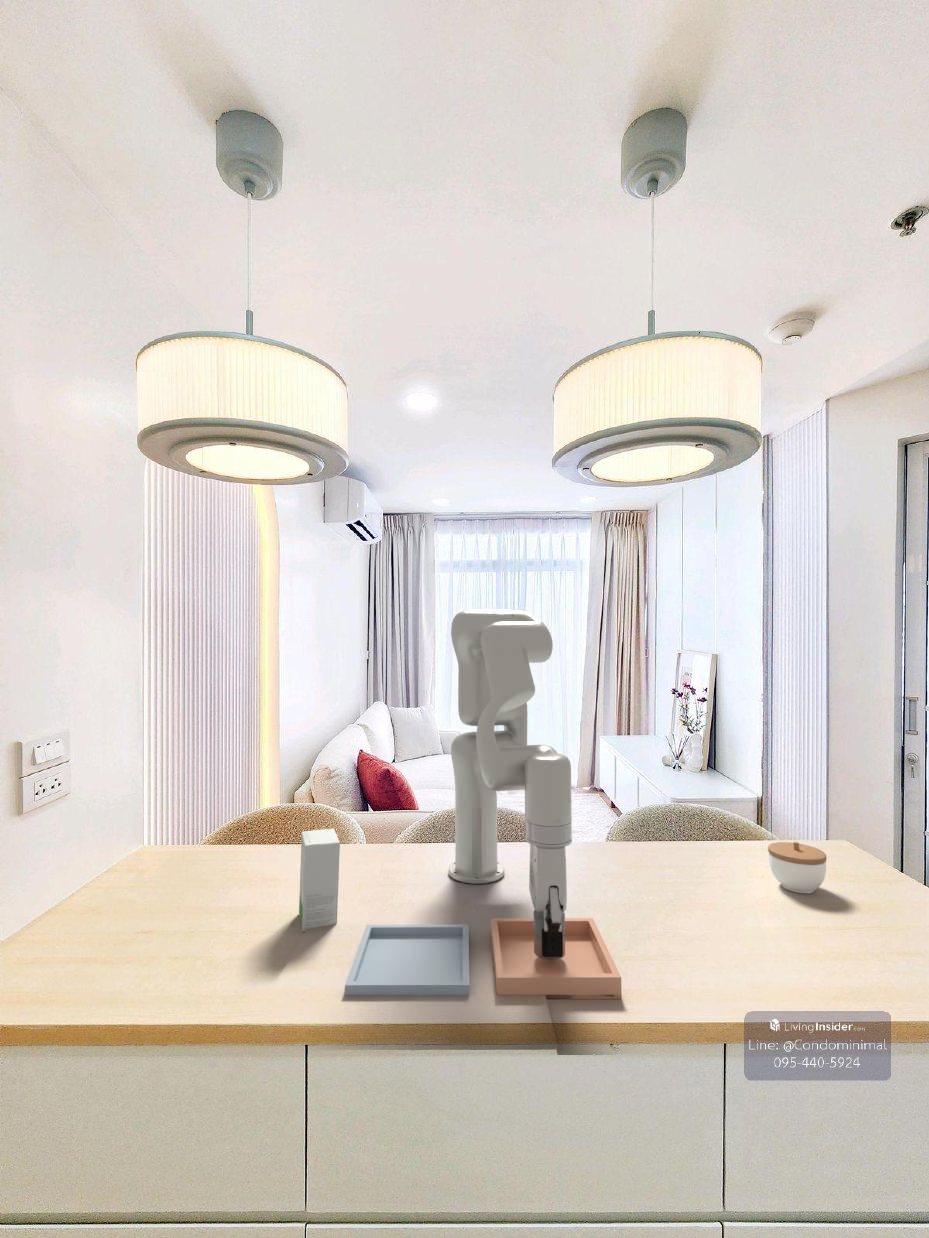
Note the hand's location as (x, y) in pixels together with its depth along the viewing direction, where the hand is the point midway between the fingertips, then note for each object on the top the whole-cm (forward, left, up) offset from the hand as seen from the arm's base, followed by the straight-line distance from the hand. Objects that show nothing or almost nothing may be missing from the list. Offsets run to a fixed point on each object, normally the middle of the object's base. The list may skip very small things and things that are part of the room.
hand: (549, 944), depth 90 cm
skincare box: (-15, -41, -3) cm, 44 cm away
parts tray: (0, -22, -3) cm, 22 cm away
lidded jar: (-29, +57, -3) cm, 64 cm away
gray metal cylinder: (0, 0, -1) cm, 1 cm away
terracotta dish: (0, 0, -3) cm, 3 cm away
